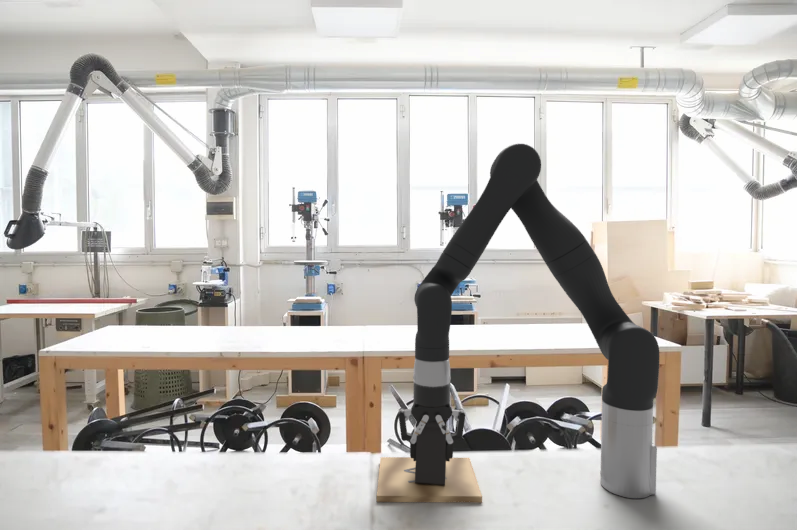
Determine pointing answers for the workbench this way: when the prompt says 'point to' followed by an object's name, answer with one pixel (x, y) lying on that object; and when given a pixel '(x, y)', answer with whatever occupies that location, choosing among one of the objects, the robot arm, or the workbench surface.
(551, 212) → the robot arm
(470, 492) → the oak board
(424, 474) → the phone stand
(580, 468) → the workbench surface
